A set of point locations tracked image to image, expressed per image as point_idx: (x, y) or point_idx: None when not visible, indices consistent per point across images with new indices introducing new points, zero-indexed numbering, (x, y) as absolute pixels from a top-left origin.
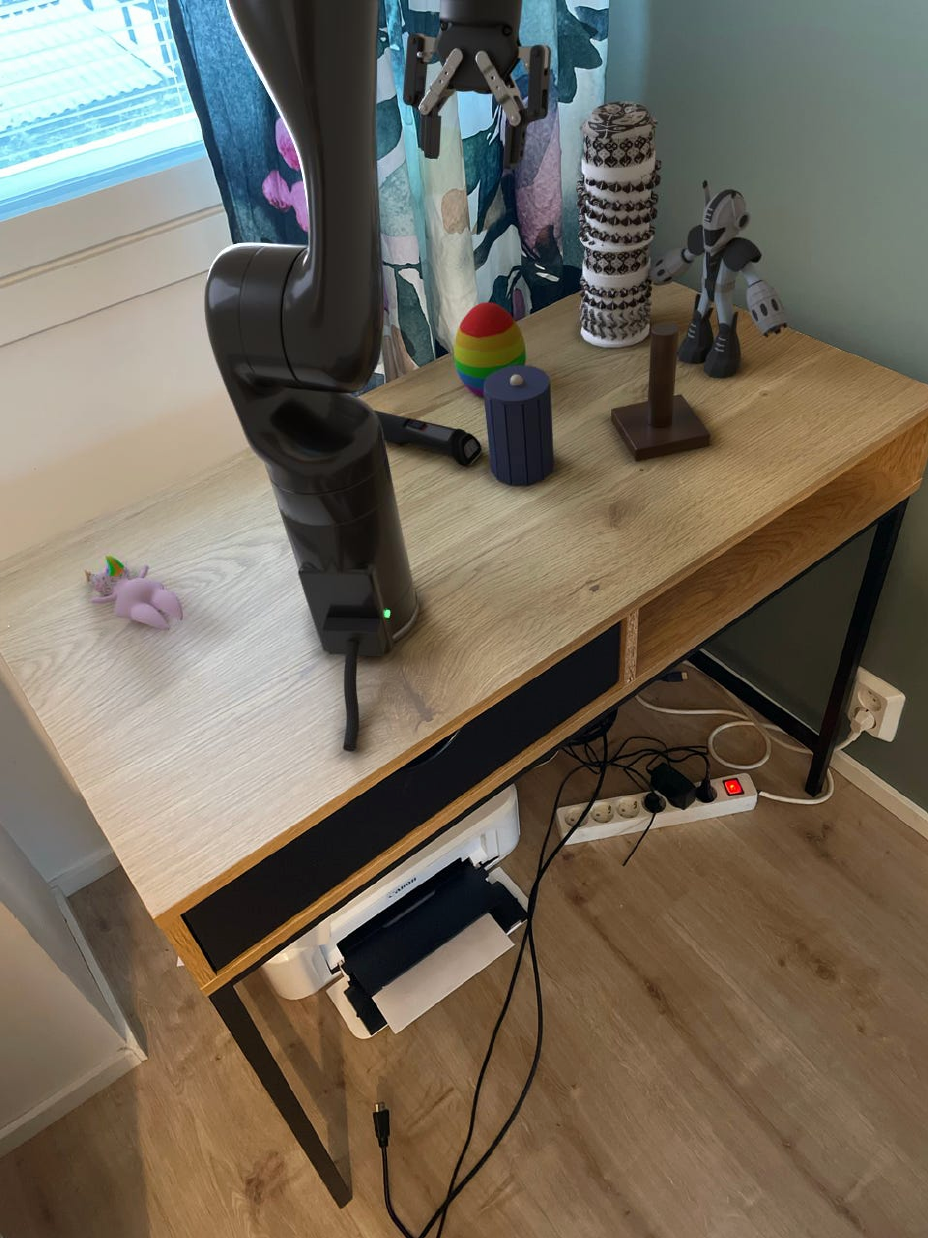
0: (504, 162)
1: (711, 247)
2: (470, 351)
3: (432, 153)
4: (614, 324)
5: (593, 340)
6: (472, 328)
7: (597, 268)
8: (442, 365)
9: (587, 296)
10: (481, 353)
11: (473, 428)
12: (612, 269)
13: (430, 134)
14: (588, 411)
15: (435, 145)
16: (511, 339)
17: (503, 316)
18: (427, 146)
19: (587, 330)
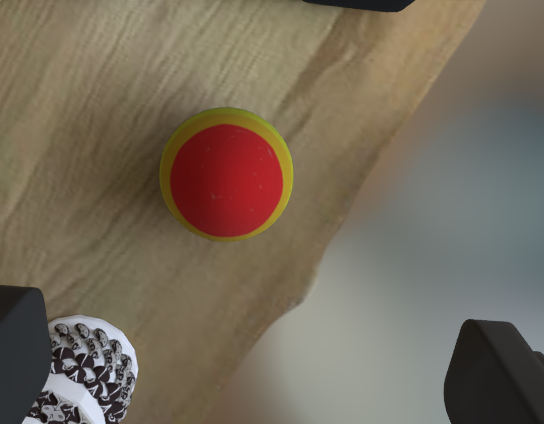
0: (13, 293)
1: None
2: (240, 114)
3: (468, 345)
4: None
5: (100, 323)
6: (240, 135)
7: (45, 399)
8: (332, 212)
9: (95, 374)
10: (217, 112)
11: (215, 37)
12: None
13: (528, 400)
14: (42, 122)
15: (474, 399)
16: (167, 156)
17: (184, 178)
18: (511, 349)
19: (112, 339)
